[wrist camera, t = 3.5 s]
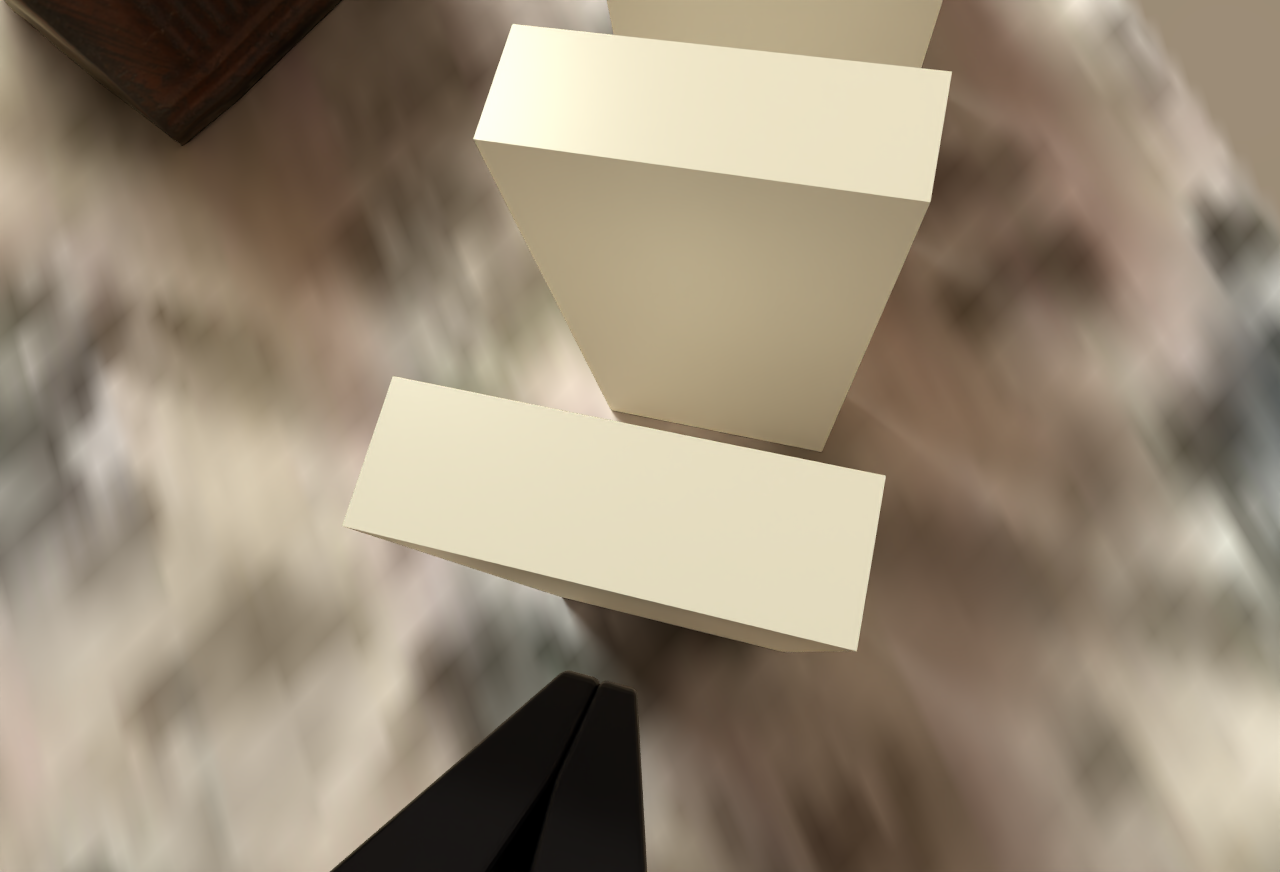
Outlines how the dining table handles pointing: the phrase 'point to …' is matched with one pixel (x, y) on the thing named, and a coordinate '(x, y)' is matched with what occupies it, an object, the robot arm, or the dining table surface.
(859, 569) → the domino
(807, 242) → the domino
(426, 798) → the robot arm
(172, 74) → the dark brown boxy piece
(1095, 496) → the dining table surface
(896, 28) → the domino
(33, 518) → the dining table surface
